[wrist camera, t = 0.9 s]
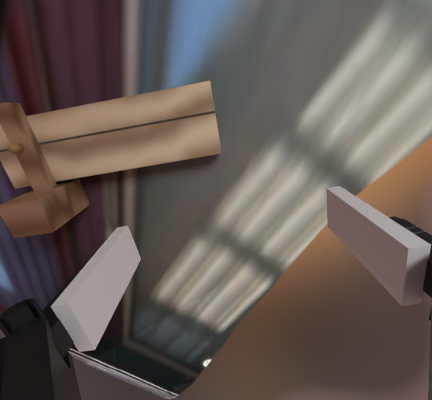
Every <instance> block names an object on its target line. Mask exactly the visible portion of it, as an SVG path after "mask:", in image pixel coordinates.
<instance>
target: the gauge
mask: <svg viewBox="0 0 432 400" xmlns="http://www.w3.org/2000/svg"><path fill="white" fill-rule="evenodd" d="M0 124H1V126H2V128H3V130H4V132H5V134H6V136H7V138H8V140H9V142H10V144H11V145H8V146H7V149H8V151H9V152H10V153H13V154H14V153H15V154H16V156H17V158H18V160H19V162H20V164H21V166H22V168H23V170H24V172H25V174H26V176H27V178H28V180H29V182H30V184H31V186H32V188H33V190H32V191H29V192H27V193H25V194H23V195H21V196H18V197H16V198H14V199H12V200H9V201H7V202H5V203H3V204H0V215H1V217H2V219H3V220H4V222H5V224H6V225H7V227H8V229H9V231H10V232H11V234H12V236H13V238H20V237H26V236H32V235H39V234H45V233H52V232H54V231H56V230H57V229H58V228H60V227H61V226H62V225H64V224H65V223H66V222H67V221H69V220H70V219H71V218H73V217H74V216H75V215H77V214H78V213H79V212H81V211H82V210H83V209H85V208H86V207H87V206H88V205H90V203H89V201H88V198H87V196H86V193H85V191H84V188H83V186H82V184H81V181H80V179H79V178H77V179H71V180H65V181H60V182H56V181H55V179H54V177H53V175H52V173H51V170H50V168H49V166H48V164H47V162H46V159H45V157H44V155H43V153H42V151H41V148H40V146H39V144H38V142H37V140H36V137H35V135H34V133H33V131H32V129H31V126H30V124H29V122H28V120H27V118H26V115H25V113H24V111H23V109H22V106H21V104H20V103H19V102H5V103H0Z"/></svg>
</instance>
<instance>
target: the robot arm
mask: <svg viewBox="0 0 432 400" xmlns="http://www.w3.org/2000/svg"><path fill="white" fill-rule="evenodd" d="M327 216H328V227H329V228H330V229H331V230H332V231H333V232H334V234H335V235H336V236H337V237H338V238H339V239H340V240H341V241H342V242H343V243H344V244H345V246H347V248H348V249H349V250H350V251H351V252H352V253H353V254H354V255H355V256H356V257H357V258H358V260H359V261H360V262H361V263H362V264H363V265H364V266H365V267H366V268H367V269H368V270H369V271H370V272H371V273H372V275H373V276H374V277H375V278H376V279H377V280H378V281H379V282H380V283H381V284H382V285H383V286H384V287H385V289H387V291H388V292H389V293H390V294H391V295H392V296H393V297H394V298H395V299H396V300H397V301H398V303H399V304H400V305H402V306H404V305H411V304H418V303H422V299H423V292H426V293H427V294H428V295H429V296H430V297H431V298H432V235H430V234H428V233H427V232H424V231H423V230H421V229H420V228H418V227H416V226H415V225H413V224H411V223H410V222H408V221H407V220H404V219H400V218H397V217H387V216H385V215H383V214H382V213H381V212H379V211H377V210H376V209H374V208H373V207H371V206H370V205H368V204H367V203H365V202H363V201H362V200H360V199H359V198H357V197H356V196H354V195H353V194H351V193H349V192H348V191H346V190H345V189H343V188H342V187H340V186H336V187H331V188H327ZM140 260H141V258H140V255H139V253H138V250H137V248H136V245H135V243H134V240H133V238H132V235H131V232H130V230H129V227H128V226H123V227H118V228H116V229H115V231H114V232H113V233H112V234H111V235H110V237H109V238H108V239H107V240H106V241H105V243H104V244H103V245H102V246H101V247H100V248H99V250H98V251H97V252H96V253H95V254H94V256H93V257H92V258H91V259H90V260H89V262H88V263H87V264H86V265H85V266H84V267H83V269H82V270H81V271H80V272H78V273H77V274H76V275H75V276H73V277H72V278H71V279H70V280H69V281H68V282H67V283H66V284H65V286H64V288H62V289H61V290H60V291H59V294H57V295H56V296H55V297H54V298H53V299H52V301H51V302H50V303H49V304H48V305H47V306H46V308H45V309H44V310H43V311H42V310H41V309H40V307H39V306H38V304H37V302H36V301H35V300H34V299H27V300H23V301H21V302H19V303H16V304H15V305H13V306H11V307H10V308H8V309H7V310H6V311H4V312H3V313H2V314H1V315H0V329H1V330H2V332H3V333H4V334H5V336H6V337H4V338H1V339H0V400H81V397H80V392H79V387H78V383H77V379H76V374H75V369H74V364H73V360H72V356H71V355H70V353H69V352H68V351H69V349H70V348H71V346H72V344H73V343H74V345H75V346H76V348H77V349H78V351H79V352H82V351H89V350H95V349H96V347H97V345H98V343H99V341H100V339H101V337H102V335H103V333H104V331H105V329H106V327H107V325H108V323H109V321H110V319H111V317H112V315H113V313H114V311H115V309H116V307H117V305H118V303H119V301H120V299H121V298H122V296H123V294H124V292H125V290H126V288H127V286H128V284H129V282H130V280H131V278H132V276H133V274H134V272H135V270H136V268H137V266H138V264H139V262H140ZM429 320H430V321H431V332H430V333H431V334H430V363H429V393H428V400H432V305H431V311H430V316H429Z"/></svg>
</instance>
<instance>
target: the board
mask: <svg viewBox="0 0 432 400" xmlns="http://www.w3.org/2000/svg"><path fill="white" fill-rule="evenodd" d="M26 118H27V120H28V122H29V124H30V126H31V129H32V131H33V133H34V135H35V137H36V140H37V142H38V144H39V146H40V148H41V151H42V153H43V155H44V157H45V159H46V162H47V164H48V166H49V168H50V170H51V173H52V175H53V177H54V179H55V181H56V182H57V181H63V180H69V179H74V178H80V177H86V176H92V175H98V174H104V173H110V172H116V171H121V170H127V169H133V168H139V167H145V166H151V165H157V164H163V163H169V162H174V161H180V160H186V159H192V158H198V157H204V156H210V155H216V154H221V153H222V152H221V145H220V139H219V132H218V126H217V120H216V114H215V108H214V101H213V95H212V89H211V83H210V81H206V82H201V83H196V84H191V85H185V86H180V87H175V88H170V89H165V90H159V91H154V92H149V93H144V94H139V95H134V96H128V97H123V98H118V99H113V100H108V101H103V102H97V103H92V104H87V105H82V106H77V107H71V108H66V109H61V110H56V111H51V112H46V113H40V114H35V115H30V116H26ZM8 145H11V144H10V142H9V140H8V138H7V136H6V134H5V132H4V130H3V128H2V126H1V124H0V161H1V163H2V165H3V167H4V169H5V171H6V173H7V175H8V176H9V178H10V180H11V182H12V184H13V186H14V188H15V189H16V188H21V187H27V186H31V184H30V182H29V180H28V178H27V176H26V174H25V172H24V170H23V168H22V166H21V164H20V162H19V160H18V158H17V156H16V154H15V153H14V154H13V153H10V152H9V151H8V149H7V146H8Z"/></svg>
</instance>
